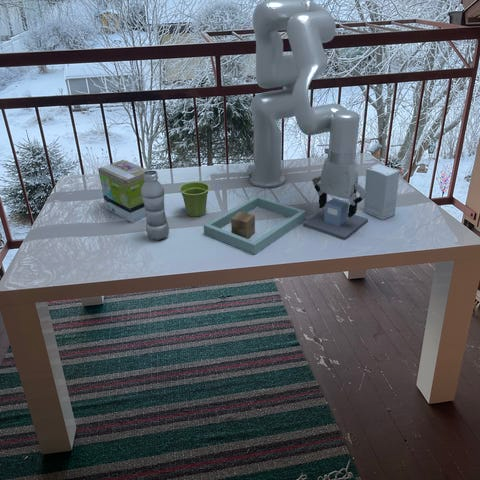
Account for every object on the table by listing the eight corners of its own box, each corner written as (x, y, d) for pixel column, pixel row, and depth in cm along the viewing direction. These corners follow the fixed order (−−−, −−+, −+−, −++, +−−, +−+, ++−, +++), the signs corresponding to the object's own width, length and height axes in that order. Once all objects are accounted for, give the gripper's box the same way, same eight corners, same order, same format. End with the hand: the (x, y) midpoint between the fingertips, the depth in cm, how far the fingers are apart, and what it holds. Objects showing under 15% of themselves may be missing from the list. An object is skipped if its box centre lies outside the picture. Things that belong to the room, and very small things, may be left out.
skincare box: (394, 215, 146) (402, 170, 138) (381, 221, 143) (388, 175, 136) (374, 206, 152) (380, 162, 144) (361, 211, 149) (366, 166, 142)
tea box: (104, 209, 154) (96, 167, 147) (129, 199, 161) (123, 158, 153) (131, 223, 145) (124, 179, 138) (157, 212, 152) (152, 169, 144)
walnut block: (231, 236, 137) (231, 218, 134) (240, 229, 141) (239, 211, 138) (246, 240, 135) (246, 222, 132) (254, 233, 139) (254, 214, 136)
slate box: (324, 221, 141) (325, 203, 138) (332, 215, 145) (334, 197, 142) (338, 226, 139) (340, 208, 136) (347, 220, 142) (349, 202, 139)
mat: (303, 226, 141) (303, 223, 141) (327, 209, 151) (327, 206, 150) (345, 240, 134) (345, 237, 133) (367, 221, 143) (368, 218, 142)
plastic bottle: (160, 244, 134) (152, 179, 124) (142, 238, 137) (132, 174, 127) (174, 234, 139) (167, 171, 128) (156, 229, 142) (148, 166, 132)
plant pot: (216, 209, 153) (214, 184, 148) (202, 221, 145) (200, 196, 141) (191, 204, 156) (189, 180, 152) (176, 216, 149) (173, 191, 144)
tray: (204, 234, 139) (203, 225, 137) (257, 203, 155) (257, 195, 154) (254, 254, 128) (254, 245, 127) (305, 219, 145) (305, 211, 143)
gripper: (308, 153, 134) (305, 207, 142) (363, 167, 124) (357, 224, 133) (321, 146, 139) (318, 199, 147) (376, 158, 129) (369, 214, 138)
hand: (336, 211), depth 140 cm, fingers open, 9 cm apart
